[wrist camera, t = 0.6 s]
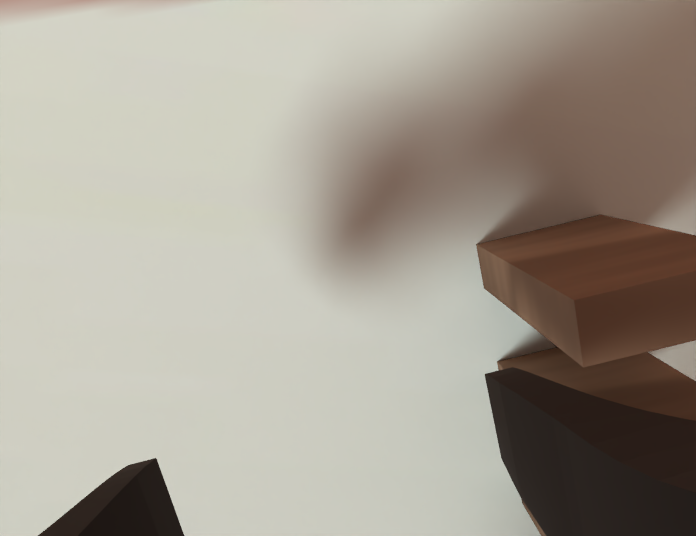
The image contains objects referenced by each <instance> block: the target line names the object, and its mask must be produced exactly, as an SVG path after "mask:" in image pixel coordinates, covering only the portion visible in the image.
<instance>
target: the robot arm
mask: <svg viewBox="0 0 696 536" xmlns="http://www.w3.org/2000/svg"><path fill="white" fill-rule="evenodd" d="M485 378H486V383H487V388H488V393H489V398H490V403H491V408H492V413H493V418H494V423H495V428H496V433H497V438H498V443H499V448H500V453H501V458H502V460H503V462H504V464H505V466H506V468H507V470H508V473H509V475H510V477H511V479H512V481H513V483H514V485H515V487H516V489H517V491H518V493H519V495H520V497H521V498H522V500H523V501H524V503H525V505H526V506H527V508H528V509H529V511H530V512H531V514H532V515H533V517H534V518H535V520H536V521H537V523H538V524H539V526H540V527H541V529H542V530H543V532H544V533H545V535H546V536H696V421H695V420H689V419H683V418H678V417H674V416H669V415H664V414H659V413H655V412H650V411H646V410H642V409H638V408H634V407H630V406H626V405H623V404H620V403H616V402H613V401H609V400H606V399H603V398H599V397H596V396H593V395H590V394H587V393H584V392H581V391H578V390H576V389H573V388H570V387H567V386H565V385H562V384H559V383H556V382H554V381H551V380H548V379H546V378H543V377H541V376H538V375H535V374H533V373H530V372H527V371H524V370H521V369H518V368H514V367H511V368H507V369H503V370H499V371H495V372H491V373H487V374H485ZM38 536H184V534H183V531H182V528H181V526H180V523H179V520H178V517H177V515H176V512H175V509H174V506H173V504H172V501H171V498H170V495H169V492H168V490H167V487H166V484H165V481H164V479H163V476H162V473H161V470H160V468H159V465H158V462H157V459H156V458H155V459H151V460H147V461H143V462H139V463H135V464H131V465H128V466H126V467H125V468H123V469H121V470H120V471H118V472H117V473H115V474H114V475H113V476H111V477H110V478H109V479H107V480H106V481H105V482H104V483H102V484H101V485H100V486H99V487H97V488H96V489H95V490H94V491H92V492H91V493H90V494H89V495H87V496H86V497H85V498H84V499H83V500H81V501H80V502H79V503H78V504H77V505H75V506H74V507H73V508H72V509H70V510H69V511H68V512H67V513H66V514H64V515H63V516H62V517H61V518H59V519H58V520H57V521H56V522H55V523H53V524H52V525H51V526H50V527H48V528H47V529H46V530H45V531H43V532H42V533H41V534H40V535H38Z"/></svg>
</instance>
